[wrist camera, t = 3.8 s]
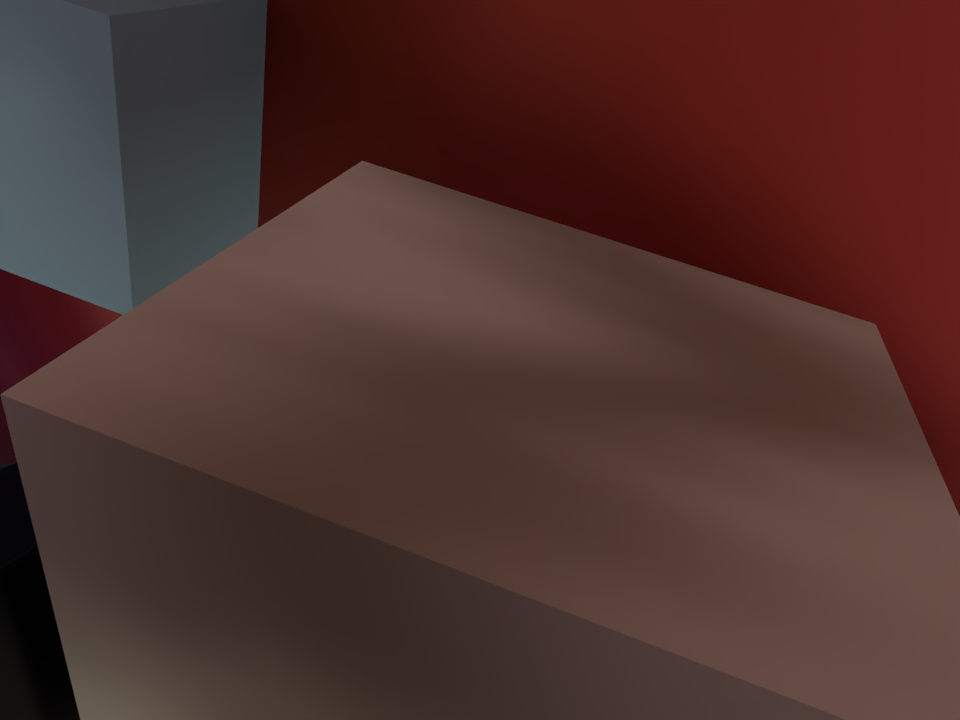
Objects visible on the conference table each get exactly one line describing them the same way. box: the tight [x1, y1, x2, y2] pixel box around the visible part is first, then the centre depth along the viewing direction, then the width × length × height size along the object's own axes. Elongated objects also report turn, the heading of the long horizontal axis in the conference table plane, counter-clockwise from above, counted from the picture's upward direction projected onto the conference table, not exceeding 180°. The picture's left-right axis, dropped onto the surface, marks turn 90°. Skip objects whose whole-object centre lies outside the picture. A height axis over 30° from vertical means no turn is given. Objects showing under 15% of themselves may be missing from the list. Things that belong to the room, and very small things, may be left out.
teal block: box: [0, 0, 267, 315], centre depth 15 cm, size 6×6×5 cm
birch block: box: [1, 161, 960, 720], centre depth 7 cm, size 6×6×5 cm
